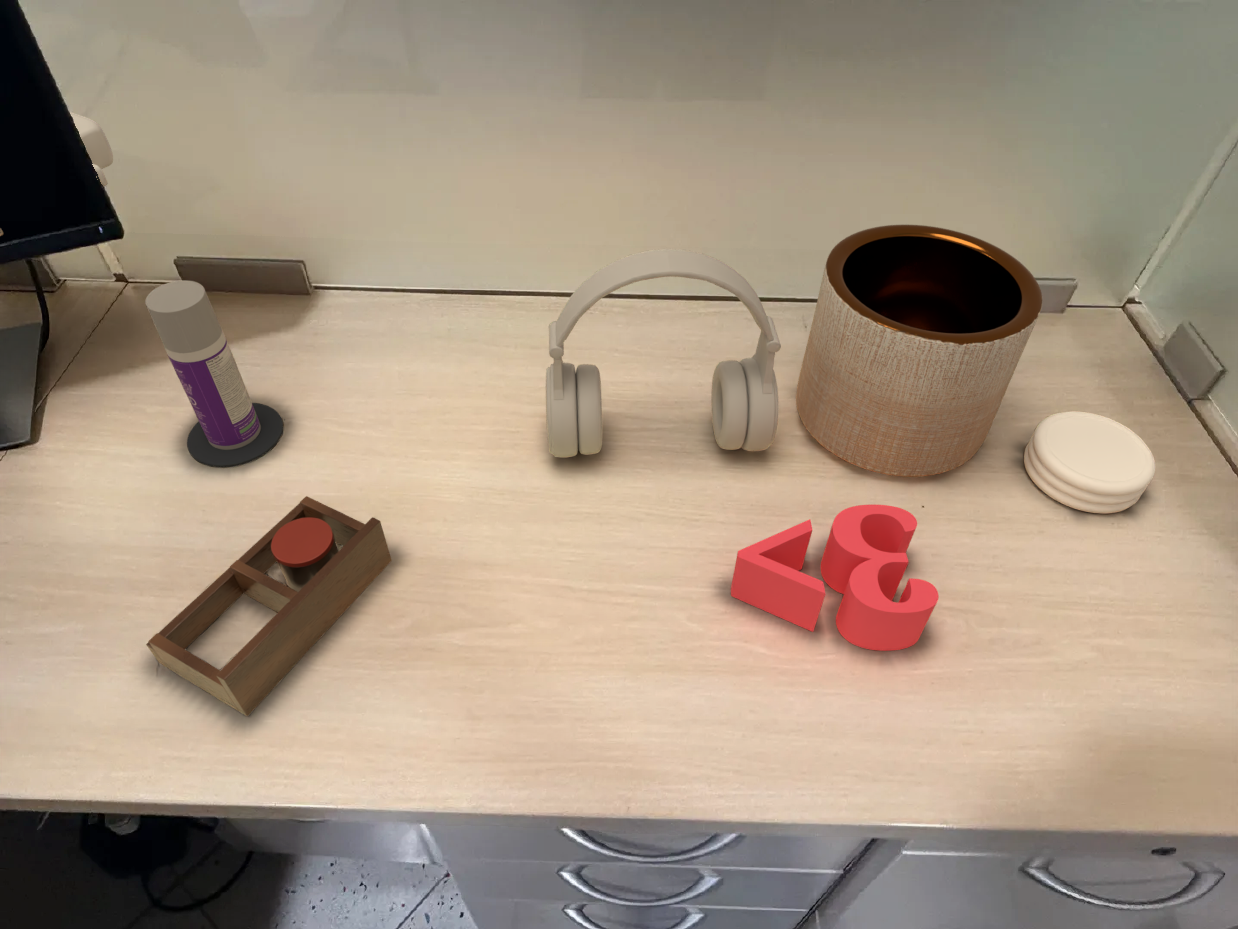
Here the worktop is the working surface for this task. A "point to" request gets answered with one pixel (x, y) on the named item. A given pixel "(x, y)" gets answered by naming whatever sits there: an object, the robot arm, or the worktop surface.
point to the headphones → (737, 387)
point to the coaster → (1089, 462)
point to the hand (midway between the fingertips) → (46, 203)
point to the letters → (842, 577)
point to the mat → (242, 455)
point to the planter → (913, 347)
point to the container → (204, 363)
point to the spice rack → (297, 611)
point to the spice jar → (303, 549)
